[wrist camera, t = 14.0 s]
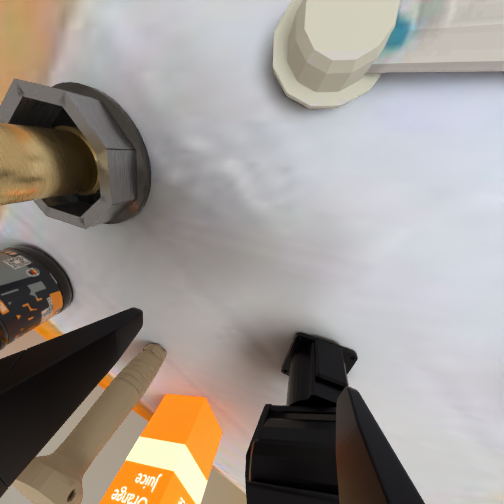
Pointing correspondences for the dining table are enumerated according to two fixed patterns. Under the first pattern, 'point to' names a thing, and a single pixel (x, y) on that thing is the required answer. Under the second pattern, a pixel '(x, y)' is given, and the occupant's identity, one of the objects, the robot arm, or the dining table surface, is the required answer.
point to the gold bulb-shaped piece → (45, 163)
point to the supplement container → (29, 291)
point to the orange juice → (169, 456)
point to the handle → (89, 435)
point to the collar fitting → (101, 139)
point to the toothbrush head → (380, 44)
